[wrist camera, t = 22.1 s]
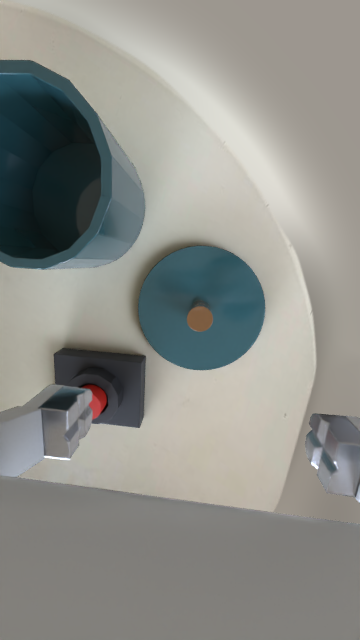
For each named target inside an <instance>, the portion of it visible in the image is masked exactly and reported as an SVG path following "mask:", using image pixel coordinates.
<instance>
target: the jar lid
mask: <svg viewBox="0 0 360 640" xmlns="http://www.w3.org/2000/svg"><path fill="white" fill-rule="evenodd" d="M138 314H139V320H140V324H141V328H142V330H143V333H144V335H145V337H146V339H147V340H148V342H149V343H150V345H151V346H152V347H153V349H154V350H155V351H156V352H157V353H158V354H159V355H161V356H162V357H163V358H165V359H166V360H168V361H169V362H171V363H173V364H175V365H178V366H180V367H184V368H187V369H193V370H211V369H216V368H220V367H223V366H226V365H228V364H230V363H232V362H234V361H235V360H237V359H238V358H240V357H241V356H242V355H244V354H245V353H246V352H247V351H248V350H249V349H250V348H251V346H252V345H253V344H254V342H255V341H256V339H257V337H258V335H259V333H260V331H261V328H262V326H263V321H264V317H265V299H264V294H263V290H262V287H261V284H260V282H259V280H258V278H257V276H256V275H255V273H254V272H253V271H252V269H251V268H250V267H249V266H248V265H247V264H246V263H245V262H244V261H243V260H242V259H240V258H239V257H238V256H236V255H234V254H233V253H231V252H228V251H226V250H224V249H220V248H217V247H212V246H192V247H187V248H183V249H180V250H178V251H175V252H173V253H171V254H169V255H168V256H166V257H165V258H163V259H162V260H161V261H160V262H158V263H157V264H156V265H155V266H154V268H153V269H152V270H151V271H150V273H149V274H148V276H147V277H146V279H145V281H144V283H143V286H142V288H141V292H140V296H139V303H138Z"/></svg>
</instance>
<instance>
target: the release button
mask: <svg viewBox="0 0 360 640" xmlns="http://www.w3.org/2000/svg"><path fill="white" fill-rule="evenodd" d="M82 388H87V389H90V390H91V391H92V401H91V402H90V403H89V406H90V407H91V409H92V410H93V417H92V420H93V419H95V418H97V417H98V416H99V414H100V413H101V412H102V410H103V409H104V407H105V406H106V403H107V397H106V394H105V392H104V391H103V390H102V389H101V388H100V387H98V386H96V385H92V384H89V385H85V386H83V387H82Z"/></svg>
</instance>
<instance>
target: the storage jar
mask: <svg viewBox="0 0 360 640" xmlns="http://www.w3.org/2000/svg"><path fill="white" fill-rule="evenodd" d="M144 214H145V198H144V192H143V188H142V184H141V181H140V179H139V176H138V174H137V171H136V169H135V167H134V165H133V164H132V163H131V161H130V160H129V158H128V157H127V155H126V154H125V153H124V151H123V150H122V148H121V147H120V146H119V144H118V143H117V141H116V140H115V139H114V137H113V136H112V134H111V133H110V131H109V130H108V129H107V127H106V126H105V124H104V123H103V122H102V120H101V119H100V117H99V116H98V115H97V113H96V112H95V111H94V109H93V108H92V107H91V106H90V105H89V103H88V102H87V101H86V100H85V99H84V97H83V96H82V95H81V94H80V93H79V91H78V90H77V89H76V88H75V86H74V85H73V84H72V83H71V82H70V80H68V79H66V78H65V77H63V76H61V75H59V74H57V73H55V72H53V71H51V70H49V69H47V68H45V67H44V66H42V65H40V64H38V63H36V62H34V61H31V60H0V262H2V263H4V264H6V265H8V266H10V267H15V268H28V269H42V270H47V269H69V268H92V267H99V266H102V265H105V264H109V263H111V262H113V261H115V260H117V259H119V258H120V257H121V256H123V255H124V254H125V253H126V252H127V251H128V250H129V249H130V248H131V247H132V245H133V244H134V242H135V241H136V239H137V237H138V235H139V233H140V231H141V228H142V225H143V220H144Z"/></svg>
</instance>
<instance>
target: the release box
mask: <svg viewBox="0 0 360 640" xmlns="http://www.w3.org/2000/svg"><path fill="white" fill-rule="evenodd" d="M145 362H146V356H139V355H129V354H119V353H108V352H98V351H88V350H77V349H67V348H63V349H61V350H60V351H58V352H56V353H55V354H54V368H55V385H64V386H71V387H79V388H82V387H83V386H85V385H89V384H92V385H96V386H98V387H100V388H101V389H102V390H103V391H104V392H105V394H106V397H107V403H106V406H105V407H104V409H103V410H102V412H101V413H100V414H99V416H98V417H97V418H95V419H93V420H92V423H93V424H100V423H102V424H110V425H119V426H127V427H135V428H140V425H141V423H142V420H143V417H144V389H145Z"/></svg>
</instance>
